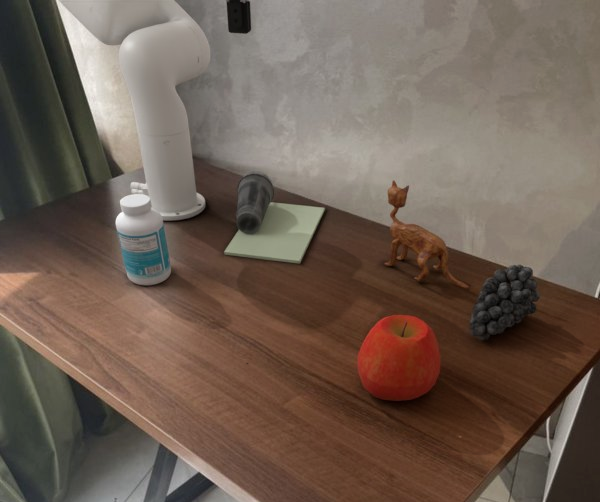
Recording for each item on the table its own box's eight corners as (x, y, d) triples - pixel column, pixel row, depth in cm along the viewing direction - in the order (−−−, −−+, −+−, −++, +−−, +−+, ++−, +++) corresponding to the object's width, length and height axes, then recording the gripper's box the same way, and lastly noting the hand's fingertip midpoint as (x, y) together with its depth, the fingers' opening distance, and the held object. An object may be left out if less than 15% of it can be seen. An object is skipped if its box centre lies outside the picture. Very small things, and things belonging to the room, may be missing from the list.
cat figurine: (478, 287, 101) (496, 208, 91) (456, 302, 97) (472, 222, 88) (392, 250, 110) (401, 175, 101) (369, 263, 106) (376, 187, 97)
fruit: (495, 300, 81) (547, 257, 89) (443, 295, 87) (495, 255, 95) (501, 356, 85) (549, 310, 93) (450, 348, 91) (500, 305, 99)
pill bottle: (146, 261, 106) (132, 186, 97) (180, 271, 104) (169, 195, 95) (118, 280, 102) (100, 203, 92) (153, 291, 99) (138, 214, 90)
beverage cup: (224, 208, 109) (239, 154, 122) (234, 242, 114) (247, 187, 127) (263, 204, 108) (274, 150, 121) (271, 238, 113) (281, 183, 126)
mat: (224, 254, 108) (223, 251, 108) (258, 203, 124) (258, 200, 124) (299, 263, 106) (299, 260, 106) (324, 210, 122) (324, 207, 121)
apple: (382, 423, 76) (391, 358, 69) (339, 375, 83) (343, 310, 76) (451, 397, 80) (466, 332, 73) (404, 353, 87) (413, 289, 80)
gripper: (222, -128, 87) (231, 21, 99) (184, -125, 76) (200, 41, 88) (272, -127, 85) (275, 23, 98) (241, -124, 75) (249, 44, 87)
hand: (239, 31), depth 93 cm, fingers closed
